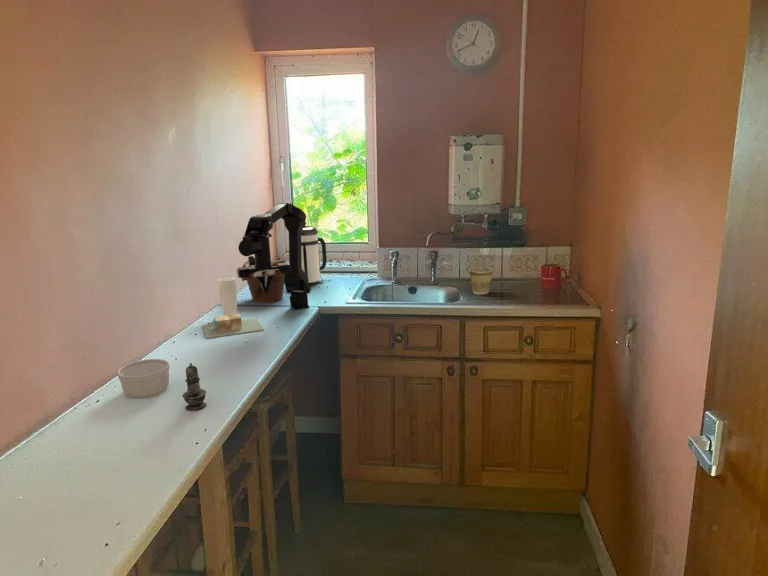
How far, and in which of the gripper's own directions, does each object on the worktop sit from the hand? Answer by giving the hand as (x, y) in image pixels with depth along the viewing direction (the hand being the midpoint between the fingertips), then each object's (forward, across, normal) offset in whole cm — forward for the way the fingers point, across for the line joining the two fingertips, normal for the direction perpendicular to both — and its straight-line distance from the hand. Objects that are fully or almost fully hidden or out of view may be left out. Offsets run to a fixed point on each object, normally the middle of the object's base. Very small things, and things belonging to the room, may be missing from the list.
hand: (265, 293), depth 218 cm
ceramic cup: (+12, -93, -4) cm, 94 cm away
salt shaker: (+12, +30, +64) cm, 72 cm away
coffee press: (+12, -30, -59) cm, 67 cm away
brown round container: (+12, -6, -38) cm, 40 cm away
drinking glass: (+12, +12, -18) cm, 25 cm away
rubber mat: (+12, +13, -1) cm, 18 cm away
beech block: (+10, +10, -1) cm, 14 cm away
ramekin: (+12, +42, +47) cm, 64 cm away
